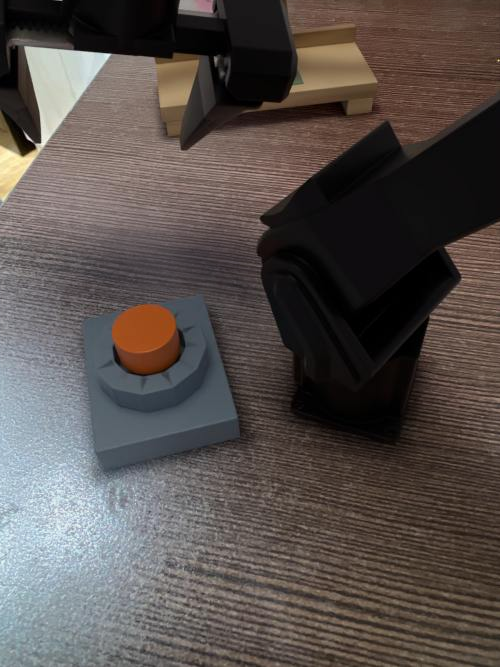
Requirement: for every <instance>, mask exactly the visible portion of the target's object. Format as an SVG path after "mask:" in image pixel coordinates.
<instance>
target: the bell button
mask: <svg viewBox="0 0 500 667" xmlns="http://www.w3.org/2000/svg"><path fill="white" fill-rule="evenodd" d="M153 304H154V303H146V304H139V305H135V306H133V307H130V308H128V309H126V311H125V310H124V311H125V312H123V313H122V314H121V315H120V316H119V317H118V318H117V319H116V321H115V322H114V325H113V328H112V338H113V341H114V344H115V347H116V350H117V353H118V356H119V359H120V361H121V363H122V365H123V366H124V367H125V368H126V369H128V370H129V371H131V372H133V373H136V374H141V375H151V374H156V373H159V372H162V371H164V370H166V369H167V368H169V367H170V366H171V365H172V364H173V363H174V362H175V361H176V360H177V358H178V356H179V354H180V350H181V344H180V339H179V334H178V329H177V324H176V320H175V318H174V316H173V315H172V313H171V312H170V311H169V310H167V309H166V308H164V307H161V306H158V305H153Z"/></svg>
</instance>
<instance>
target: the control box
mask: <svg viewBox="0 0 500 667" xmlns="http://www.w3.org/2000/svg"><path fill="white" fill-rule="evenodd" d="M152 304H153V305H158V306H161V307H164V308H166V309H167V310H169V311H170V312H171V313H172V315H173V316H174V318H175V320H176V324H177V329H178V334H179V339H180V344H181V350H180V354H179V356H178V358H177V360H176V361H175V362H174V363H173V364H172V365H171V366H170V367H169V368H167V369H166V370H164V371H162V372H159V373H156V374H151V375H141V374H136V373H133V372H131V371H129V370H128V369H126V368H125V367H124V366H123V365H122V363H121V361H120V359H119V356H118V353H117V350H116V347H115V344H114V341H113V338H112V328H113V325H114V322H115V321H116V319H117V318H118V317H119V316H120V315H121V314H122V313H123V312H125V311H126V310H127V309H126V310H120V311H116V312H112V313H107V314H103V315H98V316H92V317H88V318H84V319H81V329H82V340H83V349H84V350H83V351H84V358H85V370H86V379H87V388H88V398H89V408H90V418H91V428H92V437H93V438H92V439H93V447H94V454H95V456H96V458H97V460H98V462H99V463H100V466H101V468H102V469H103V471H104V472H106V471H110V470H114V469H118V468H124V467H126V466H131V465H135V464H139V463H143V462H147V461H151V460H155V459H158V458H159V459H160V458H163V457H167V456H171V455H175V454H178V453H183V452H187V451H191V450H196V449H199V448H203V447H208V446H211V445H215V444H219V443H224V442H227V441H231V440H235V439H239V438H241V429H240V420H239V415H238V412H237V407H236V405H235V402H234V397H233V395H232V391H231V387H230V384H229V381H228V377H227V374H226V370H225V367H224V363H223V359H222V356H221V353H220V348H219V345H218V343H217V342H218V341H217V338H216V335H215V332H214V328H213V325H212V321H211V317H210V315H209V311H208V308H207V305H206V301H205V297H204V295H203V294H202V293H200V294H196V295H192V296H186V297H182V298H177V299H172V300H168V301H163V302H159V303H152Z"/></svg>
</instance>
